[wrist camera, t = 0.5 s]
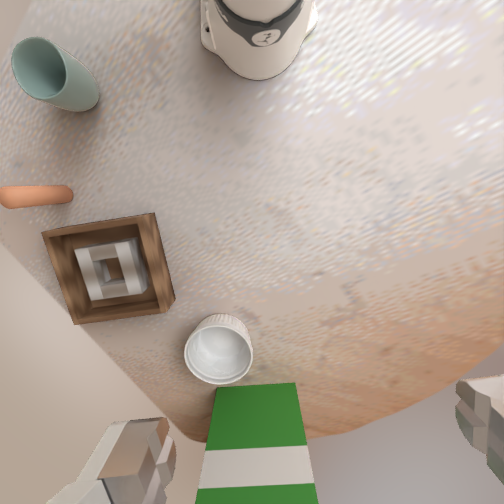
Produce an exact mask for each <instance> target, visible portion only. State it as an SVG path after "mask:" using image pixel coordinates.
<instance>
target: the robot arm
mask: <svg viewBox="0 0 504 504" xmlns="http://www.w3.org/2000/svg"><path fill="white" fill-rule="evenodd" d="M317 20H318V14H317V10H316V6H315V2H314V0H201V41H202V44H203V46H204V47H205V48H206V49H208V50H210V51H211V52H213V53H215V54H217V55H219V56H220V57H221V58H222V59H223V61H224V62H225V63H226V64H227V65H228V67H229V68H230V69H232V70H233V71H234V72H235V73H237V74H239V75H240V76H242V77H245V78H248V79H253V80H263V79H268V78H271V77H274V76H276V75H278V74H280V73H281V72H283V71H284V70H285V69H286V68H287V67H288V66H289V65H290V64H291V63H292V61H293V60H294V58H295V57H296V55H297V53H298V51H299V49H300V46H301V44H302V42H303V40H304V39H305V37H306V36H307V35H308V34H309V33H310V32H311V31H312V30H313V29H314V28H315V26H316V24H317ZM207 29H209V30H210V32H206V30H207ZM456 393H457V394H458V395H459V396H460V398H461V400H460V401H459V403H458V404H457V405H456V418H457V422H458V425H459V427H460V429H461V431H462V433H463V434H464V436H465V438H466V439H467V440H468V441H469V443H470V444H471V445H472V447H474V448H476V449H477V450H479V451H481V452H482V453H484V454H486V458H487V465H488V466H489V467H490V469H491V470H492V471H493V473H494V474H495V475H496V476H497V477H498V479H499V480H500V481H501V482H502V483H503V485H504V374H502V375H498V376H488V377H480V378H473V379H465V380H459V381H458V383H457V384H456ZM168 431H169V424H168V421H167V418H164V417H160V418H149V419H138V420H130V421H122V422H114V423H112V424H111V425H110V426H109V427H108V428H107V430H106V431H105V433H104V435H103V436H102V438H101V440H100V441H99V443H98V445H97V446H96V448H95V450H94V451H93V453H92V455H91V456H90V458H89V459H88V461H87V463H86V465H85V466H84V468H83V470H82V471H81V473H80V474H79V476H78V478H77V479H76V481H75V482H74V483H69V484H68V485H66V486H65V487H64V488H63V489H62V490H60V491H59V492H58V493H57V494H56V495H55V496H54V497H53V498H51V499H50V500H49V501H48V502H47V503H45V504H165V503H166V499H167V498H166V495H165V492H164V489H165V488H166V486H167V485H168V484H169V482H170V481H171V480H172V478H173V474H174V470H175V463H176V449H175V444H174V440H173V439H172V438H171V437H170V436H168V435H167V433H168Z"/></svg>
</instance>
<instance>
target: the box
mask: <svg viewBox="0 0 504 504" xmlns="http://www.w3.org/2000/svg"><path fill="white" fill-rule="evenodd" d="M41 233H42V236H43V239H44V242H45V245H46V247H47V250H48V253H49V256H50V259H51V262H52V264H53V267H54V270H55V273H56V276H57V278H58V281H59V284H60V287H61V290H62V293H63V295H64V298H65V301H66V304H67V307H68V309H69V312H70V315H71V318H72V321H73V323H74V325H78V324H86V323H93V322H100V321H107V320H115V319H122V318H129V317H136V316H144V315H151V314H158V313H165V312H167V311H168V309H169V308H170V306H171V305H172V303H173V302H174V301H175V299H176V298H175V294H174V290H173V286H172V282H171V278H170V274H169V270H168V266H167V261H166V257H165V253H164V249H163V245H162V241H161V237H160V233H159V229H158V225H157V221H156V217H155V213H149V214H142V215H136V216H130V217H123V218H117V219H111V220H105V221H98V222H92V223H86V224H79V225H73V226H67V227H62V228H58V229H54V230H49V231H45V232H41Z"/></svg>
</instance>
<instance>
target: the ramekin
mask: <svg viewBox="0 0 504 504" xmlns="http://www.w3.org/2000/svg"><path fill="white" fill-rule="evenodd" d="M184 359H185V362H186V365H187V367H188V368H189V370H190V371H191V372H192V373H193V374H194V375H195V376H196V377H197V378H199V379H201V380H203V381H205V382H207V383H211V384H218V385H222V384H229V383H232V382H235V381H237V380H239V379H240V378H242V377H243V376H244V375H245V374H246V373H247V372H248V370H249V369H250V367H251V364H252V360H253V349H252V345H251V341H250V336H249V332H248V330H247V328H246V327H245V325H244V324H243V323H242V322H241V321H240V320H239V319H237V318H236V317H234V316H231V315H227V314H215V315H211V316H209V317H207V318H205V319H204V320H202V322H200V323H199V325H198V326H197V327H196V329H195V330H194V331H193V332H192V333H191V334H190V336H189V337H188V339H187V342H186V344H185V348H184Z"/></svg>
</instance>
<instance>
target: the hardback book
mask: <svg viewBox="0 0 504 504" xmlns="http://www.w3.org/2000/svg"><path fill="white" fill-rule="evenodd" d="M195 504H318V499H317V494H316V489H315V484H314V479H313V473H312V469H311V463H310V458H309V452H308V447H307V442H306V437H305V432H304V426H303V421H302V416H301V411H300V406H299V400H298V395H297V390H296V385H295V383H281V384H265V385H250V386H234V387H218V388H217V391H216V397H215V402H214V407H213V412H212V418H211V423H210V428H209V433H208V439H207V444H206V449H205V454H204V460H203V465H202V470H201V476H200V481H199V486H198V491H197V497H196V502H195Z"/></svg>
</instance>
